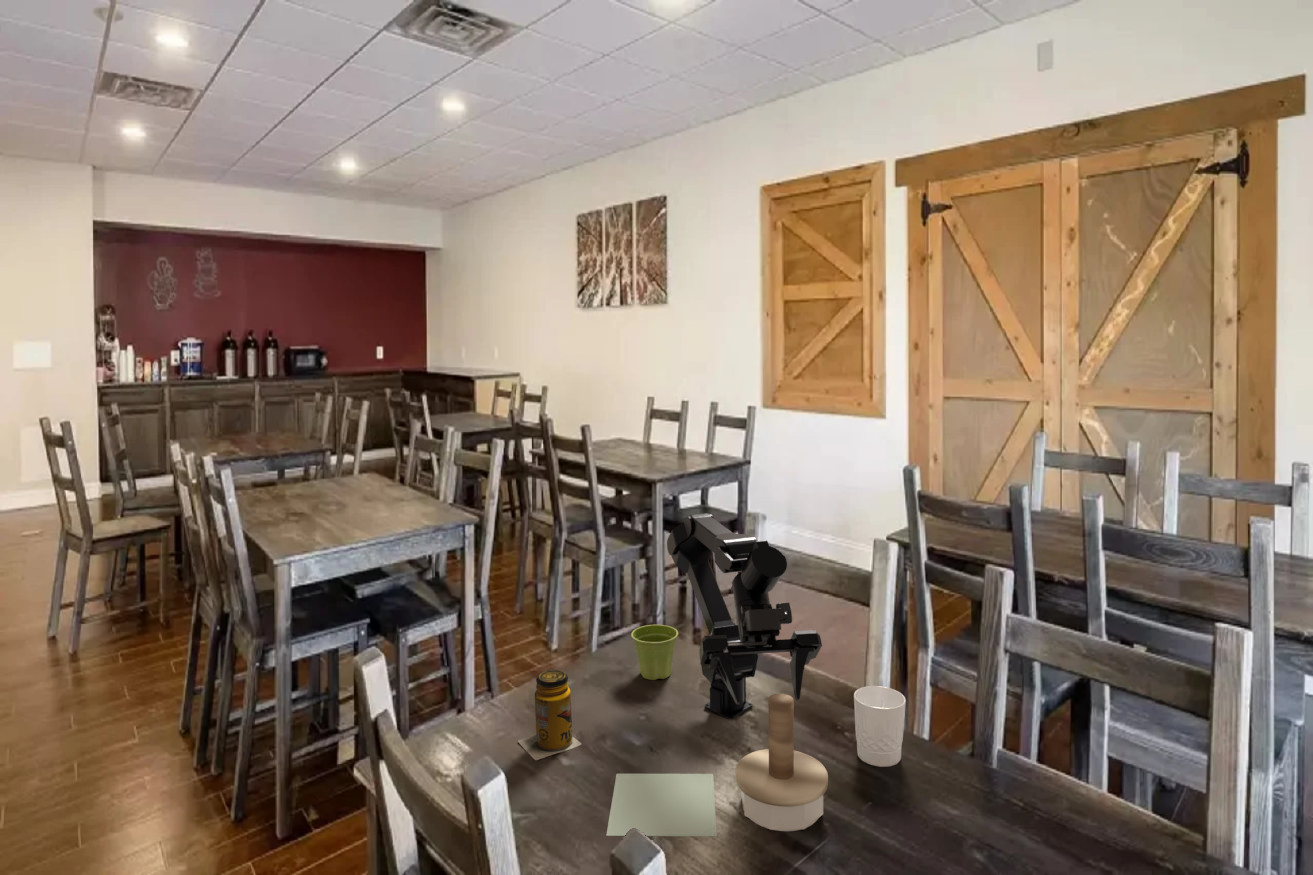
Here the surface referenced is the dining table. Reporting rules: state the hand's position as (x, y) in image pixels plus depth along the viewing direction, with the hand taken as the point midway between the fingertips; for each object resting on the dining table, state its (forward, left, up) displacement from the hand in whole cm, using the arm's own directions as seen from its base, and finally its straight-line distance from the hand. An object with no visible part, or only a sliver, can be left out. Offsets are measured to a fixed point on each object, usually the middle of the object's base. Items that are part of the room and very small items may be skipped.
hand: (768, 701), depth 117 cm
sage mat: (+16, -7, -12) cm, 21 cm away
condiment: (+17, -33, -12) cm, 39 cm away
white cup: (-17, +9, -12) cm, 23 cm away
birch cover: (+5, +6, -8) cm, 11 cm away
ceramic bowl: (+5, +6, -12) cm, 15 cm away
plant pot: (-14, -39, -12) cm, 43 cm away
